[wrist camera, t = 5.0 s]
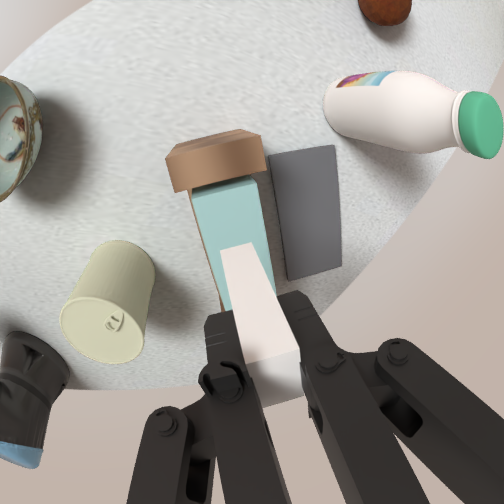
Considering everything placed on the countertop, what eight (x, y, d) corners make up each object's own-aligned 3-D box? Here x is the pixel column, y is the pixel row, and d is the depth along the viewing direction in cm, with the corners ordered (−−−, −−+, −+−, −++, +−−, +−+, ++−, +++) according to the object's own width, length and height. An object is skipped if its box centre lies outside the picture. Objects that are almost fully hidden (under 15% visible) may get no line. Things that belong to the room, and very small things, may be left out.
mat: (287, 279, 38) (288, 281, 37) (268, 155, 29) (269, 156, 29) (339, 263, 38) (341, 266, 38) (332, 144, 30) (334, 145, 29)
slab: (229, 313, 31) (234, 338, 27) (192, 185, 23) (191, 199, 20) (272, 302, 31) (281, 325, 28) (247, 172, 24) (256, 183, 20)
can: (169, 270, 34) (163, 338, 23) (130, 311, 36) (116, 378, 25) (113, 225, 30) (79, 281, 19) (78, 273, 31) (46, 335, 21)
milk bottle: (368, 143, 31) (501, 193, 13) (315, 128, 29) (451, 165, 11) (379, 88, 27) (516, 102, 10) (326, 68, 25) (466, 47, 8)
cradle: (223, 305, 38) (233, 361, 29) (176, 144, 27) (165, 158, 18) (271, 292, 38) (293, 344, 30) (239, 128, 27) (260, 135, 19)
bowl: (84, 102, 22) (50, 101, 15) (39, 202, 26) (6, 228, 19) (13, 66, 16) (-24, 62, 10) (-22, 159, 20) (-58, 176, 13)
